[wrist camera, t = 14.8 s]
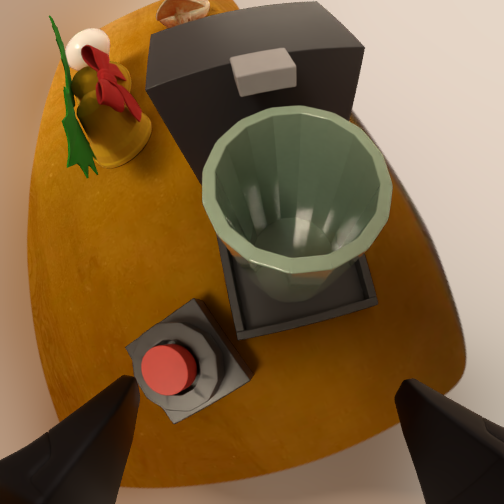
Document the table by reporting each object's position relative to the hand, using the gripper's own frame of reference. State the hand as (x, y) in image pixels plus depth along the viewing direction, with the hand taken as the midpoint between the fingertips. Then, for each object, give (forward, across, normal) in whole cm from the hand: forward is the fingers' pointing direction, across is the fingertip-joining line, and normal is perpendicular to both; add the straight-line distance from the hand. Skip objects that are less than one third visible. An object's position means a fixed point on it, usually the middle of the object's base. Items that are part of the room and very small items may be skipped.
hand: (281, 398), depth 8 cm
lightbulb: (+32, +22, -18) cm, 43 cm away
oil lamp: (+39, +13, -32) cm, 52 cm away
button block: (+11, +4, +8) cm, 14 cm away
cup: (+14, -3, 0) cm, 14 cm away
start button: (+8, +5, +6) cm, 11 cm away
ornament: (+25, +15, -9) cm, 30 cm away
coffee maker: (+16, -2, -2) cm, 16 cm away
